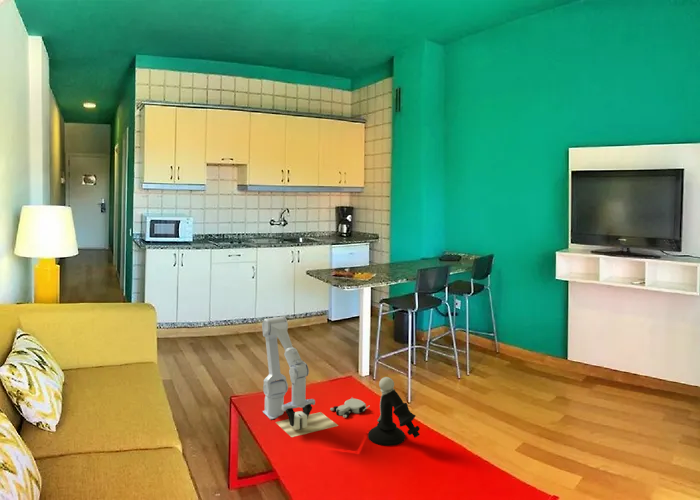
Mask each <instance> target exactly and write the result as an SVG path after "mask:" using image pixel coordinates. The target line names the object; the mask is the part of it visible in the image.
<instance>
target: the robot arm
mask: <svg viewBox="0 0 700 500" xmlns="http://www.w3.org/2000/svg"><path fill="white" fill-rule="evenodd" d="M288 329H289V323H288V320H287V318H286V316H284V315H283V316H276V317H270V318H264V319H263V321H262V322H261V330H262V336H263V338H265V346H266V347H265V348H266V358H267V366H268V367H267V368H268V375H267V376H266V377H265V378H264V379H263V387H262V390H263V394H264V395H265V396H264V410H262V413H263V414H264V415H266V417H267V418H268V419H269V420H274V419H277V418H279V417H280V416H282V415H283V414H284V412H285V413H286V415H287V418H288V419H289V422H290V425H291V426H294V415H295V412H296V411H294V409H297V408H300V409H302V412H303V413H305V414H306V415H307V419H308V416H309V414H311V411H312V410H313V406H315V405H316V399H315V398H309V399H308V398H307V397H306V392H307V391H306V388H307V387H306V384H307V383H306V382H307V381H306V378H307V377H308V376H309V374H310V370H309V366H308V364H307V363H306V362H305V361H304V360H302V358H301V356H300V353H299V351H298V349H297V348H296V347H294V346H293V343H292V341H291V338H290V335H289V332H288ZM278 340H279V342H280V344H281V345H282V347H283V349H284V353H283V354H284V357H285V359H286V360H285V361H286V362H287V364H288V367H289V370H288V374H289V377H290V382H291V401H289V402H287V403H285V402H284V401H285V396H286V393H287V392H288V389H289V384H288V381H287V377H286V376H285V374H282V373H281V364H280V354H279V345H278ZM306 398H307V399H306Z"/></svg>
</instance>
